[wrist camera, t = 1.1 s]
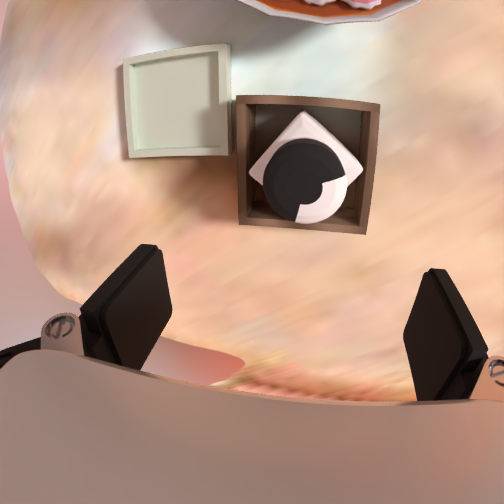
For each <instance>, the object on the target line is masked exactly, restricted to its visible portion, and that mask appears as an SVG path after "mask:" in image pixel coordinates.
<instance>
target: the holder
mask: <svg viewBox="0 0 504 504" xmlns="http://www.w3.org/2000/svg"><path fill="white" fill-rule="evenodd" d="M255 104H289V105H309V106H323V107H335V108H345V109H354V110H362V116H361V133H360V147H359V159H358V162H359V163H360V164H361V166H362V168H363V171H362V173H361V174H360V175H359V176H358V177H357V180H356V189H355V198H354V206H353V208H346V207H339V208H338V210H337V211H336V212H335V213H334V214H332V215H331V216H330V217H328V218H326V219H324V220H322V221H319V222H316V223H309V224H303V223H296V222H292V221H289V220H287V219H285V218H283V217H282V216H280V215H279V214H278V213H277V212H275V211H274V209H273V208H272V207H271V206H270V204H269V203H268V201H255V179H254V178H253V177H252V176H250V174H249V171H250V169H251V168H252V167H253V166H254V164H255ZM379 116H380V104H376V103H369V102H361V101H353V100H343V99H333V98H321V97H305V96H282V95H236V117H237V171H238V214H239V225H254V226H268V227H281V228H294V229H307V230H319V231H330V232H342V233H353V234H364V235H366V231H367V225H368V218H369V212H370V205H371V197H372V190H373V182H374V173H375V164H376V154H377V143H378V130H379Z"/></svg>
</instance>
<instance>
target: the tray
mask: <svg viewBox="0 0 504 504" xmlns="http://www.w3.org/2000/svg"><path fill="white" fill-rule="evenodd" d="M123 82H124V102H125V118H126V130H127V141H128V151H129V158H138V157H159V156H197V155H230V154H231V153H232V107H231V45H229V44H227V43H221V44H210V45H200V46H192V47H185V48H178V49H171V50H165V51H159V52H154V53H149V54H144V55H139V56H134V57H130V58H126V59H123Z"/></svg>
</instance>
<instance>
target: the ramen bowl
mask: <svg viewBox="0 0 504 504" xmlns="http://www.w3.org/2000/svg"><path fill="white" fill-rule="evenodd" d="M237 1H239V2H241V3H243V4H246V5H248V6H250V7H252V8H254V9H256V10H258V11H260V12H262V13H264V14H266V15H268V16H275V17H283V18H290V19H296V20H302V21H308V22H313V23H318V24H323V25H330V24H340V23H353V22H372V21H381V20H383V19H385V18H387V17H390V16H392V15H394V14H396V13H398V12H401V11H403V10H405V9H408V8H410V7H412V6H415V5H417V4H419V3H420V2H421V1H422V0H237Z"/></svg>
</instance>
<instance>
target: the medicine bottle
mask: <svg viewBox="0 0 504 504" xmlns="http://www.w3.org/2000/svg"><path fill="white" fill-rule="evenodd" d="M362 171H363V168H362V166H361V164H360V163H359V162H358V160H357V159H356V157H355V156H354V154H353V153H352V152H351V151H350V150H349V149H348V148H347V147H346V146H345V145H344V144H343V143H342V142H340V141H339V140H338V139H337V138H336V137H335V136H334V135H333V134H332V133H331V132H330V131H328V130H327V129H326V128H325V127H324V126H323V125H322V124H321V123H319V122H318V121H317V120H316V119H315V118H314V117H312V116H311V115H310V114H309V113H308V112H307V111H305V110H302V111H301V112H300V113H299V114H298V115H297V116H296V117H295V118H294V119H293V120H292V122H291V123H290V124H289V125H288V126H287V127H286V128H285V129H284V131H283V132H282V133H281V134H280V135H279V136H278V137H277V138H276V140H275V141H274V142H273V143H272V144H271V145H270V146H269V148H268V149H267V150H266V151H265V152H264V153H263V155H262V156H261V157H260V158H259V159H258V161H257V162H256V163H255V164H254V166H253V167H252V168H251V169H250V171H249V174H250V176H252V177H253V178H254V179H255V180H256V181H258V182H259V183H260V184H261V185H263V190H264V194H265V197H266V199H267V201H268V203H269V204H270V206H271V207H272V208H273V209H274V211H275V212H277V213H278V214H279V215H280V216H282V217H283V218H285V219H287V220H289V221H292V222H296V223H303V224H309V223H316V222H319V221H322V220H324V219H326V218H328V217H330V216H331V215H332V214H334V213H335V212H336V211H337V210H338V208H339V207H340V206H341V204H342V202H343V200H344V198H345V195H346V190H347V187H348V186H349V185H350V184H351V183H352V182H353V181H354V180H355V179H356V178H357V177H358V176H359V175H360V174H361V173H362Z"/></svg>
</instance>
